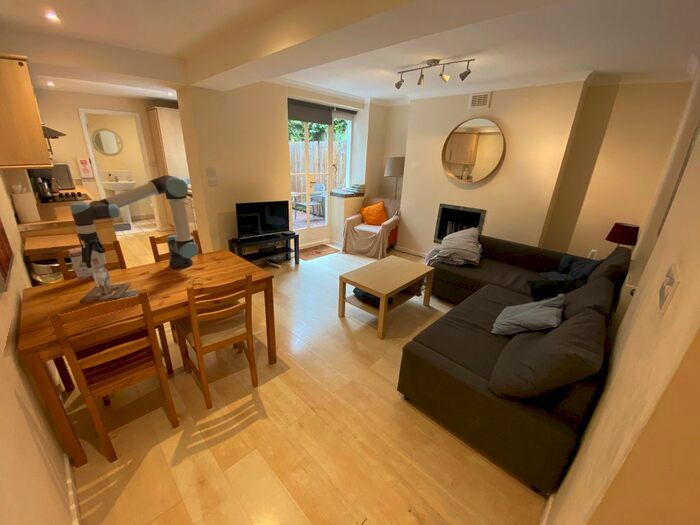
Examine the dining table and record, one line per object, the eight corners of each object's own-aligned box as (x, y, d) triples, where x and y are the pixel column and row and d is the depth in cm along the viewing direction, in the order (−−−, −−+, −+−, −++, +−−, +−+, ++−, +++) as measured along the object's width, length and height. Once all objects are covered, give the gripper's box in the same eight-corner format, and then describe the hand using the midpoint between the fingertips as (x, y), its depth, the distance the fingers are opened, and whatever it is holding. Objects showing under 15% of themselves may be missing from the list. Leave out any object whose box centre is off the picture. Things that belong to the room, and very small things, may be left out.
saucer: (146, 290, 174) (146, 289, 174) (139, 299, 164) (139, 298, 163) (122, 292, 170) (122, 291, 170) (114, 302, 160) (114, 301, 160)
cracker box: (79, 282, 179) (68, 251, 171) (77, 279, 182) (67, 249, 174) (107, 276, 189) (98, 246, 181) (105, 273, 192) (96, 244, 184)
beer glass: (112, 289, 173) (105, 267, 167) (115, 293, 169) (108, 270, 163) (97, 293, 168) (90, 270, 162) (101, 297, 164) (93, 274, 158)
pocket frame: (130, 285, 179) (129, 283, 178) (118, 299, 163) (118, 297, 162) (95, 288, 173) (94, 286, 173) (80, 303, 157) (79, 300, 157)
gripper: (90, 226, 163) (100, 260, 171) (65, 239, 142) (78, 277, 149) (105, 226, 166) (115, 259, 174) (84, 238, 144) (95, 276, 152)
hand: (98, 268), depth 161 cm, fingers open, 13 cm apart
